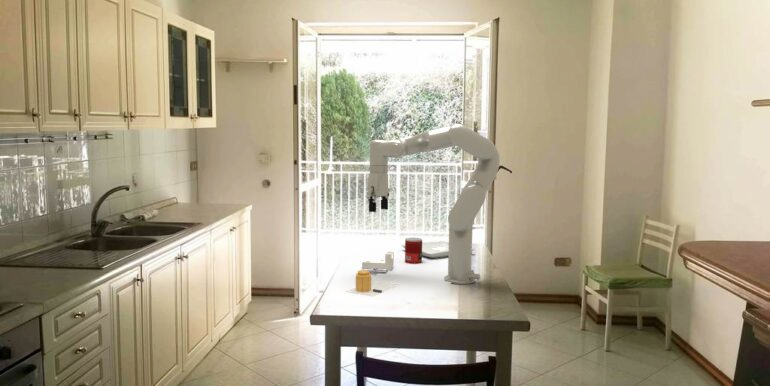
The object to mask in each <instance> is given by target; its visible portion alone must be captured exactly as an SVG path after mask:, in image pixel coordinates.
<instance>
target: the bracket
mask: <svg viewBox="0 0 770 386" xmlns="http://www.w3.org/2000/svg"><path fill="white" fill-rule="evenodd" d="M394 253H395V251H391V250H388V251H387V253H385V254H384V255H385V258H384V259H375V258H374V259H373V258H365V259H364V260H362V263H361V270H364V269H372V268H373V269H374V268H375V269H376V268H378V269H386V270H388V272H389V271H393V267H395V264H394V263H395V254H394Z"/></svg>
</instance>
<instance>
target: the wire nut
mask: <svg viewBox="0 0 770 386" xmlns="http://www.w3.org/2000/svg"><path fill="white" fill-rule="evenodd" d="M371 281H372V274H371V273H370V270H364V269H359V270H357V273H355V288H356V290H357V291H361V292H366V291H370V290H371Z"/></svg>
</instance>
